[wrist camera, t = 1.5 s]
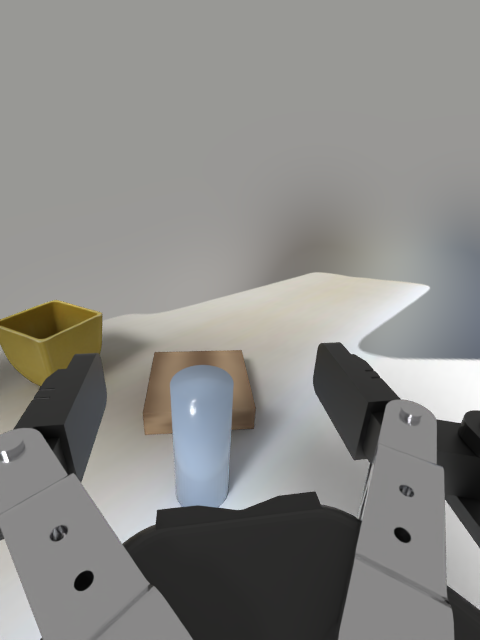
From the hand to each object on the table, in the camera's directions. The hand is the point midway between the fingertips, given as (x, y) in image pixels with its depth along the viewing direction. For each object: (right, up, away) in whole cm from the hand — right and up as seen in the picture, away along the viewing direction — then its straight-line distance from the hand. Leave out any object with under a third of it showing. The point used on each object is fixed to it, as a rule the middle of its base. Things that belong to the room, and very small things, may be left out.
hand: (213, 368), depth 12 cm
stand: (-4, -8, +30) cm, 31 cm away
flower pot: (-23, -6, +32) cm, 40 cm away
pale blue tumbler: (-3, -14, +18) cm, 23 cm away
